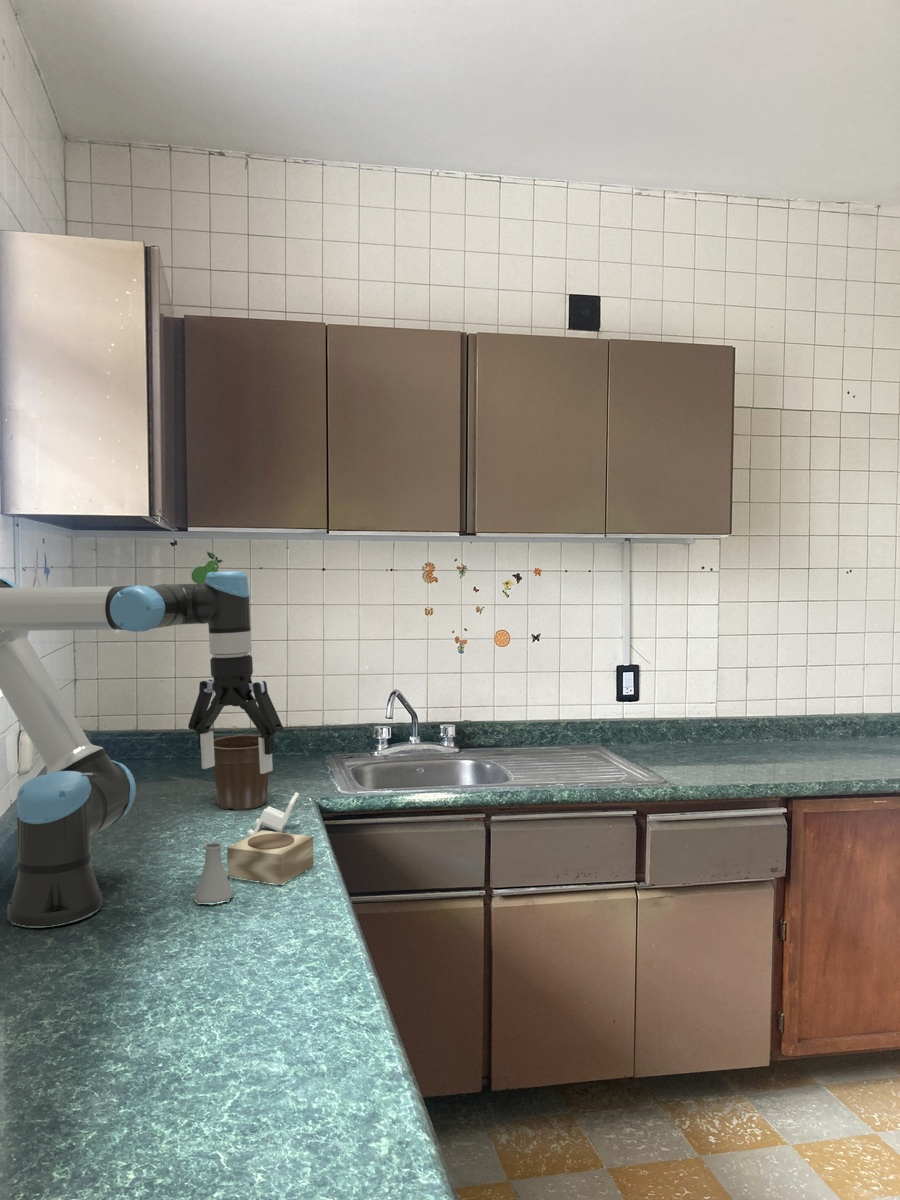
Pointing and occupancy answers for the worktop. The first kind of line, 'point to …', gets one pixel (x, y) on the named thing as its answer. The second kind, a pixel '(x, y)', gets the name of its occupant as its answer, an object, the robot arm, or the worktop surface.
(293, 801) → the mounting bracket
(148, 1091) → the worktop surface
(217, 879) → the flask
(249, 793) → the plant pot
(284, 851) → the wooden stand
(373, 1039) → the worktop surface
